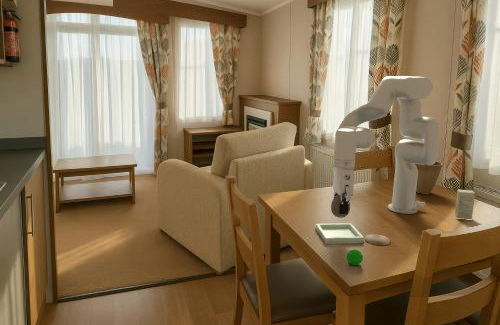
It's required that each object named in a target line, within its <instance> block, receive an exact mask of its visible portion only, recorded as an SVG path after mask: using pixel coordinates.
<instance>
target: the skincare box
mask: <svg viewBox="0 0 500 325" xmlns="http://www.w3.org/2000/svg"><path fill="white" fill-rule="evenodd" d="M475 195H476V192H475V191H474V190H472V189H471V190H470V189H457V192H456V200H455V210H454V218H455V217H456V218H464V219H472V220H473V214H474V213H473V212H474V204H475V198H476V197H475ZM456 218H455V219H456Z"/></svg>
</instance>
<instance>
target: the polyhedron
mask: <svg viewBox="0 0 500 325" xmlns="http://www.w3.org/2000/svg"><path fill="white" fill-rule="evenodd" d="M346 259H347V260H346V261H347V262H348V264H350V265H352V266H358V265H360V264H361V263H362V262H363V260H364V256H363V253H362V252H361V250H358V249H356V248H355V249H351V250H349V251H348V252H347V254H346Z"/></svg>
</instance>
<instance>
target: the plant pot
mask: <svg viewBox="0 0 500 325" xmlns="http://www.w3.org/2000/svg"><path fill="white" fill-rule="evenodd" d="M415 165H416V167H417V170H418V179H417V188H416V192H417V193H416V194H419V193H421V194H420V195H430V194H431V193H432V192H433V190H434V188H435V186H436V183H437V181H438V179H439V176H440V173H441V171H442V166H443V163H442V162H439V161H436V162H435V163H434V164H433V165H422V164H417V163H415Z"/></svg>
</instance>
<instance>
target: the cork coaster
mask: <svg viewBox="0 0 500 325" xmlns="http://www.w3.org/2000/svg"><path fill="white" fill-rule="evenodd" d="M364 241H365V242H366V243H368V244H371V245H374V246H383V247H384V246H388V245H390V244H391V239H390V238H389V237H388V236H385V235H381V234H376V233H375V234H374V233H373V234H366V235H365V236H364Z"/></svg>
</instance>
